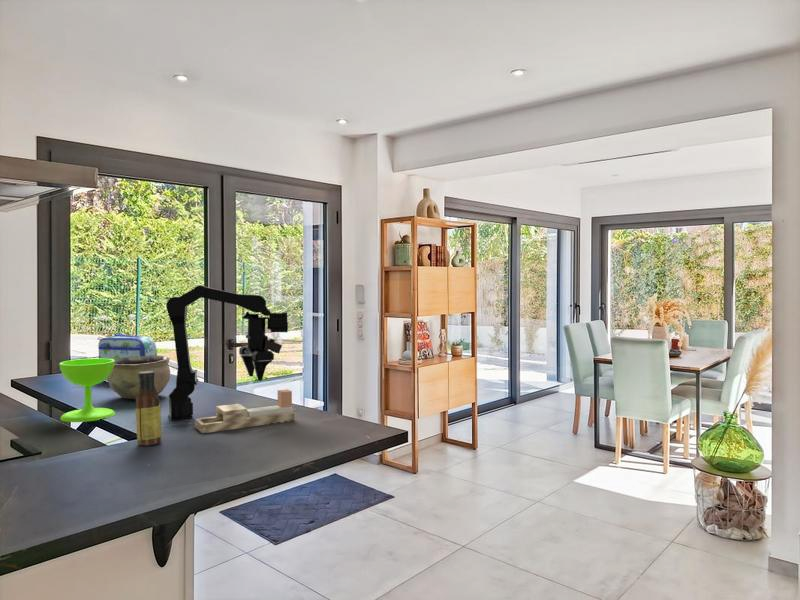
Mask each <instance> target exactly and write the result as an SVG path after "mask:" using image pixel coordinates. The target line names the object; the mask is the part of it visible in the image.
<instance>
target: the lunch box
mask: <svg viewBox="0 0 800 600" xmlns="http://www.w3.org/2000/svg"><path fill="white" fill-rule="evenodd" d="M97 347H98V358H103V359H117V358H123V357H139V356H150V355H158V354H157V353H158V351H157V346H156V342H155V340H154V339H152V337H149V336H143V335H135V334H134V335H129V334H121V333H116V334H114V335H112V336H108V337H102V338H101V339H99V342H98V346H97ZM105 380H107V381H108V377H107V378H106V379H105Z"/></svg>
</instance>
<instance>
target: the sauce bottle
mask: <svg viewBox="0 0 800 600" xmlns="http://www.w3.org/2000/svg"><path fill="white" fill-rule="evenodd" d="M154 376H155V373H154V371H144V372H139V379H140V386H139V387H140V390H139V392H138V394H137V396H136V399H135V419H136V440H137V445H139V446H142V447H148V446H149V447H150V446H155V445H158V444H160V443H161V442H162V434H163V432H162V416H161V415H162V413H161V412H162V411H161V399H160V396H159V394H157V391H156V388H155V385H154Z"/></svg>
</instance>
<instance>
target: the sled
mask: <svg viewBox="0 0 800 600" xmlns="http://www.w3.org/2000/svg"><path fill="white" fill-rule="evenodd" d="M292 392H293V391H292V390H290V389H278V390H277V405H270V406H260V407H253V408H247V418H252V417H259V416H267V415H275V414H282V413H290V412H293V405H292V404H293V401H292V400H293V396H292V395H293V393H292Z"/></svg>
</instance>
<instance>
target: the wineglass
mask: <svg viewBox="0 0 800 600" xmlns="http://www.w3.org/2000/svg"><path fill="white" fill-rule="evenodd" d="M114 363H115V360H114V359H103V358H99V357H98V358H80V359H70V360H65V361H61V362H59V363H58V365H59V369H60V373H61V374H62V376H63V377H64V378H65V379H66V380H67V381H68V382H70V383H71V384H73V385H76V386H78V387H79V386H80V387H84V406H83V407H82V408H80V409H75V410H71V411H68V412H65V413H63V414H62V415H61V416H60V421H62V422H64V423H65V422H67V423H87V422H94V421H100V419H102V418H106V417H110V416H112V417H114V416H115V415H116V411H114V410H113V409H112V408H109V407H108V408H107V407H94V406H93V405H92V387H93V386H96V385H99V384H101V383H103V381H104V380H105V379H106V378H107V377H108V376H109V375H110V374H111V372H112V370H113V368H114ZM114 414H115V415H114ZM113 415H114V416H113ZM110 418H111V417H110ZM106 419H107V418H106ZM102 420H103V419H102Z"/></svg>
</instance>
